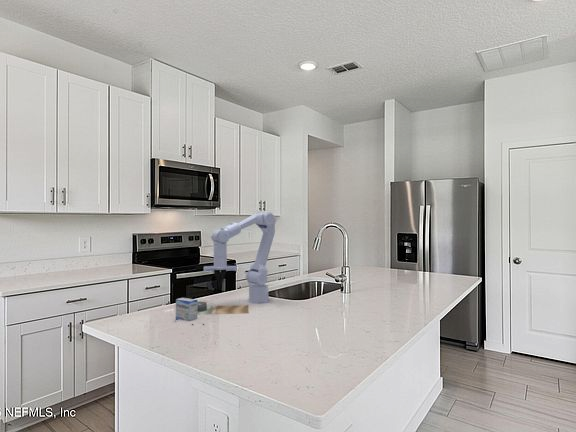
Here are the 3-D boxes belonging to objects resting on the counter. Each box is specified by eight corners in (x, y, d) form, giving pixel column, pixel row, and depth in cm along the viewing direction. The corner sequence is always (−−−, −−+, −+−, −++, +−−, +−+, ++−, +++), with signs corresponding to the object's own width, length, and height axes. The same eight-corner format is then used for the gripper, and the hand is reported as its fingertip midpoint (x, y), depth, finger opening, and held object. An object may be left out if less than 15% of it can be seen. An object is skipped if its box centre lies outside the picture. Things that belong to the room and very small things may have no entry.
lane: (248, 307, 174) (248, 305, 174) (248, 315, 160) (248, 313, 160) (186, 308, 171) (186, 306, 171) (180, 317, 157) (180, 314, 157)
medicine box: (175, 320, 152) (175, 299, 152) (183, 318, 156) (183, 297, 156) (190, 323, 148) (190, 301, 148) (197, 320, 152) (197, 299, 152)
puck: (207, 308, 168) (207, 301, 168) (205, 311, 162) (205, 304, 162) (194, 308, 168) (194, 301, 168) (191, 311, 162) (191, 304, 162)
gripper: (202, 257, 164) (202, 289, 164) (236, 257, 166) (236, 288, 166) (204, 256, 171) (204, 285, 171) (236, 255, 173) (236, 285, 173)
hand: (220, 286), depth 169 cm, fingers closed
